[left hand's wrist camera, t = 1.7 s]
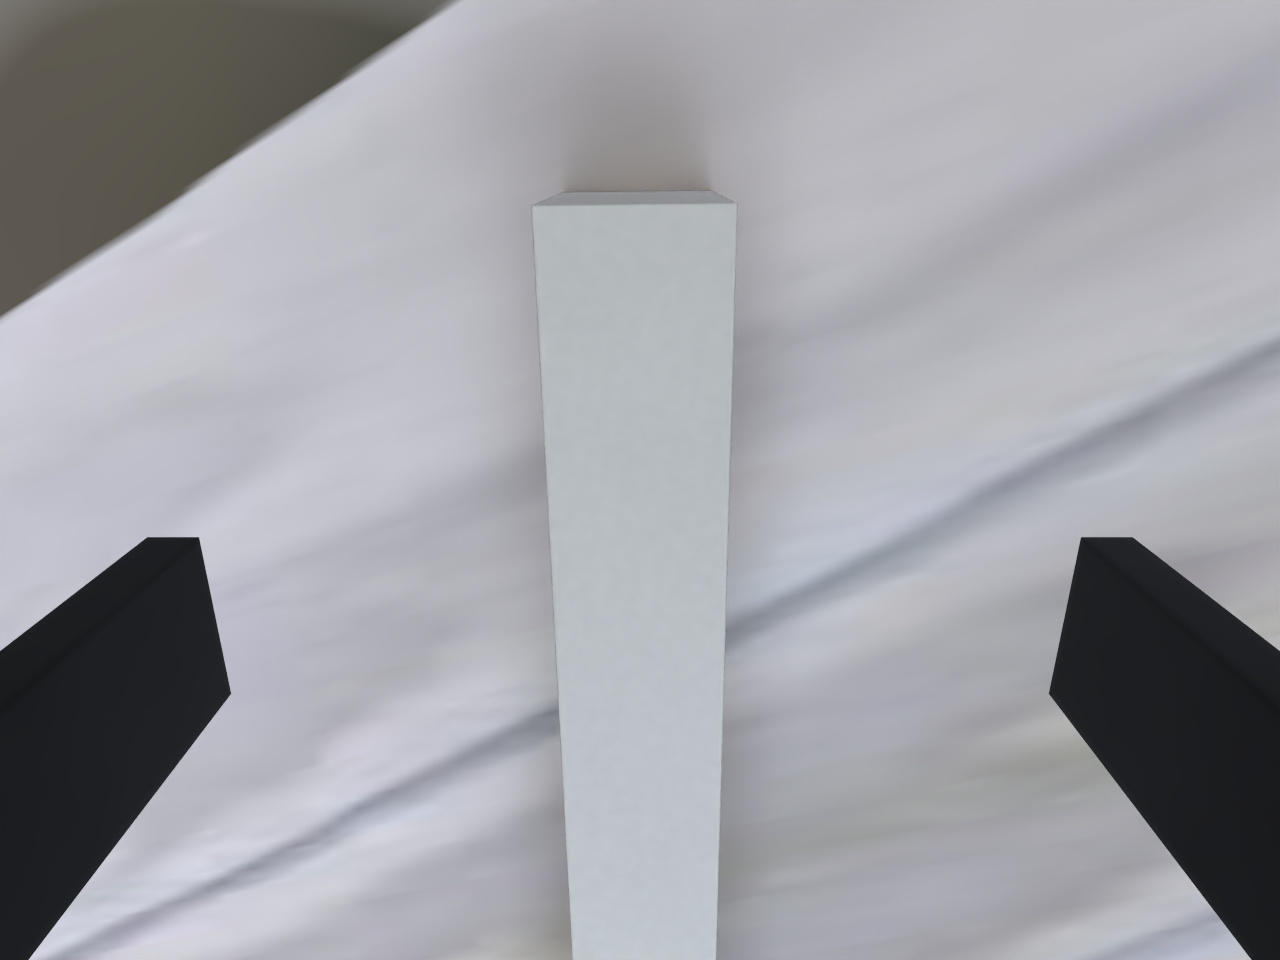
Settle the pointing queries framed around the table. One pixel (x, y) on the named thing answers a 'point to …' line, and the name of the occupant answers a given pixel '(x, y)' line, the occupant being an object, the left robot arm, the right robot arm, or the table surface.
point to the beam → (639, 553)
